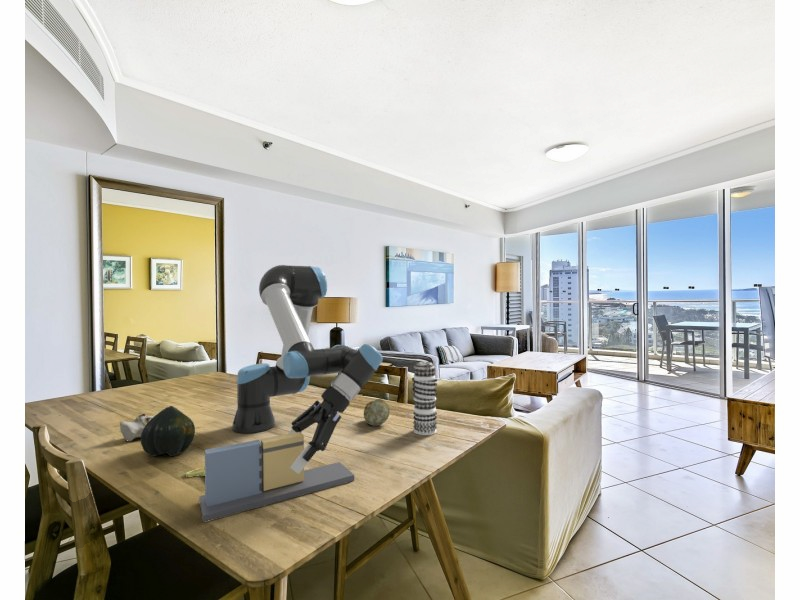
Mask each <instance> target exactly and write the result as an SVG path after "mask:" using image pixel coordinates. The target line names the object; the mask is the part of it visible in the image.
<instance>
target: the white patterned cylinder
mask: <svg viewBox="0 0 800 600" xmlns="http://www.w3.org/2000/svg"><path fill="white" fill-rule="evenodd" d="M413 369H414V370H413V372H414V374H413V377H412V378H411V380H412V382H413V383H411V384H412V391H413V393H412V397H413V401H414V408H413V415H414V416H413V419H414V420H413V433H414V434H416V435H420V436H431V435H435V434H436V433H437V432H438V431H437V429H438V428H437V426H438V425H437V424H438V421H437V417H438V416H437V407H436V401H437V397H436V396H437V391H438V389H437V388H436V386H438V383H437V381H438V378H436V366H434V365H433V362H431V361H419V362H416V363H415V365H414V366H413Z"/></svg>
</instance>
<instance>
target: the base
mask: <svg viewBox="0 0 800 600" xmlns="http://www.w3.org/2000/svg"><path fill="white" fill-rule="evenodd" d="M351 482H355V474H354V473H353V472H352V471H351V470H350V469H348V468H347V467H346V466H345V465H344V464H342V463H341V462H340V461H337V462H333V463H329V464H324V465H321V466H317V467H312V468H308V469H304V481H301V482H297V483H293V484H289V485H285V486H281V487H278V488H274V489H270V490H266V491H264V490H263V489H262V493H259V494H255V495H252V496H248V497H244V498H240V499H236V500H232V501H229V502H225V503H221V504H217V505H213V506H209V507H207V506H206V502H205V494H203V495H199V496H198V498H199V499H198V503H199V502H200V504H199V508H200V507H201V509H200V513H202V514H201V517H202V518H203V519H202V522H204V523H206V522H205V521H207V522H209V521H208V520H211V521H213V520H212V519H215V520H217V519H216V518H218V519H221V518H220V517H222V518H225V517H228V515H229V516H231V515H232V514H233V515H236V514H239V512H240V513H243V512H246V510H247V511H249V510H250V509H251V510H254V509H257V507H258V508H261V507H264V505H265V506H269V505H272V504H275V502H276V503H279V502H283V501H286V500H290V499H294V498H298V497H301V496H304V495H308V494H311V493H314V492H317V491H318V492H319V491H322V490H325V489H329V488H332V487H336V486H340V485H344V484H347V483H351ZM268 504H269V505H268ZM253 508H254V509H253ZM251 510H250V511H251ZM242 511H243V512H242ZM235 513H236V514H235ZM224 516H225V517H224Z"/></svg>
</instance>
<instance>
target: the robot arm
mask: <svg viewBox="0 0 800 600" xmlns="http://www.w3.org/2000/svg"><path fill="white" fill-rule="evenodd" d="M327 291H328V281H327V278H326V275H325V272H324V270H323V269H322V268H320V267H318V266H311V265H308V266H306V265H288V264H287V265H286V264H281V265H279V264H278V265H275V266H273V267H271V268H269V269H268V270H267V271H265V273H264V274H263V276H262V277H261V279H260V282H259V287H258V293H259V297H260V300H261V301H262V303H263V304H264V305H265V306H267V308H268V310H269V312H270V315H271V317H272V320H273V322H274V325H275V328H276V330H277V332H278V335H279V336H280V340H281V342H282V350H281V356H280V357H278V359H276V362H275V365H274V366H270V363H264V362H263V363H256V364H251V365H248V366H244V367H242V368H240V369H239V370H238V372H237V378H236V379H237V380H236V384H237V385H236V389H237V396H236V397H237V402H236V403H237V407H236V408H237V409H236V412H235V415H234V418H233V421H232V430H233V432H234V433H235V432H236V433H240V434H251V433H253V434H254V433H260V432H264V431H267V430H270V429H272V428H274V426H275V425H276V424H275V423H276V419H275V415H274V413H273V410H272V407H271V398H272V397H273V398H274V397H279V396H280V397H281V396H285V395H294V394H298V393H301V392H304V391H305V390H306V389H307V387H308V386H309V383H310V378H311V377H316V376H321V375H322V376H323V375H324V376H325V375H331V374H337V375H336V376H335V378H334V379H333V380H332V381H331V383H330V384H331V385H329V386H328V387H326V389H325V390H324V391H323V392H322V394H321V396H320V397H321V399H322V401H321V402H320V401H319V400H318V399H317V400H316V401H314V403H313V404H312V405H311V406H309V408H307V409H306V410H305V411H303V412H302V413H301V414H300V415H299V416H298V417H296V418H295V419H294V420H293V421H292V422H291V423H290V424H291V429H290V430H289V432H287V434H291V433H296V432H301V433H302V432H303V431H304V430H306V429H307V428H309V427H311V426H312V425H314V424H317V425H316V428H315V430H314V434H313V435H312V436H313V437H312V439H311V441H308V443H307V445H305V446H304V450H303V451H302V452H301V454H300V455H299V456H298V457H297V459H296V460H295V461H294V462H293V464H292V465H291V466H290V468H291V469H292V470H294V471H295V472H296V473H298V474H299V473H300V472H301V471H302V469H303V468H304V469H305V467H306V465H308V463H309V462H310V460H311V459H312V458H313V457H314V455H315V454H316V453H317V452H319V451H321V452H324V451H325V450H326V448H327V446H328V444H329V442H330V440H331V438H332V435H333V433H334V431H335V429H336V426H337V424H338V423H339V421H340V420H341V419H342V415H340V414H343V413H344V412H345V411H346V409H347V408H348V406H350V405H351V403H350V401H353V400H354V399H355V398H356V397H357V396H358V395H359V392H360V391H361V390H362V388H363V387H364V386H365V385H366V384H367V383H368V381H369V380H370V379H371V378H372V376H373V375H374V374H375V372H377V371H378V368H379V367H380V366H381V364H382V363H383V360H384V359H383V355H382V353H381V352H380V351H379V350H378V349H377V348H375V347H374V346H373V345H371V344H370V343H364V344H363V345H361V346H360V347H359V348H358V349H355V348H351V347H349V346H347V345H344V344H336V345H334V346H332V347H331V348H330V347H329V348H318V349H317V348H316V349H315V348H314V346H313V344H312V342H311V340H310V337H309V331H310V327H311V320H312V315H313V309H314V308H315V307H317V306H318V304H319V299H323V298H325V296H326V295H327V293H328V292H327ZM339 413H340V414H339Z"/></svg>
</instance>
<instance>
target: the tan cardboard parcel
mask: <svg viewBox="0 0 800 600" xmlns="http://www.w3.org/2000/svg"><path fill="white" fill-rule="evenodd" d="M304 439H305V435H304V434H303V433H302V432H296V433H291V434H288V433H287V434H281V435H280V434H279V435H276V436H271V437H270V436H269V437H266V438H260V442H261V446H262V453H261V458H262V466H261V470H262V489H263V490H264V491H266V490H270V489H274V488H278V487H281V486H285V485H289V484H293V483H297V482H301V481H304V470H305V467H304V468H303V469H302V471H301V472H300V473H299V474H298V473H296V472H295V471H294V470H292V469H291V468H290V466H291V465H292V464H293V462H294V461H295V460H296V459H297V457H298V456H299V455H300V454H301V452H302V451H303V450H304V449H305V446H304V445H305V444H304V443H305V440H304Z"/></svg>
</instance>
